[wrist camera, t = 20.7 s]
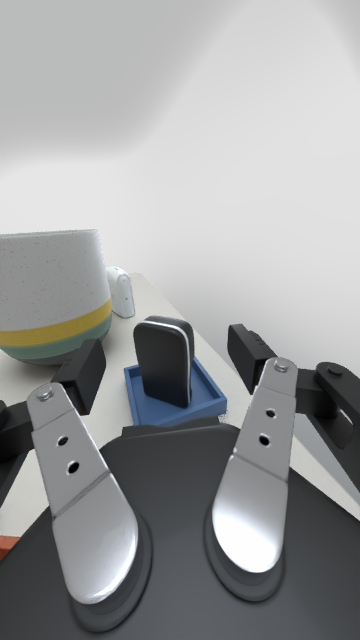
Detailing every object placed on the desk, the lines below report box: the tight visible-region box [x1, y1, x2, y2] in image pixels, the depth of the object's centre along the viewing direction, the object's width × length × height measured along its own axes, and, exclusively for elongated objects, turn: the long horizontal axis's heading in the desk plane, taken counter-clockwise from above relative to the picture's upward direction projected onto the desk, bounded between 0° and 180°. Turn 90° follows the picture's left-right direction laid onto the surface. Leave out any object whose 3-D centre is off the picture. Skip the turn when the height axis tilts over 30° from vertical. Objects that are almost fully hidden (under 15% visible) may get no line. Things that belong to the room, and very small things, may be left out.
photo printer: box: [106, 266, 135, 318], centre depth 53 cm, size 10×4×12 cm, turn 40°
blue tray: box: [124, 356, 227, 427], centre depth 28 cm, size 11×11×2 cm
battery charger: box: [133, 316, 194, 408], centre depth 25 cm, size 7×4×11 cm, turn 65°
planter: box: [0, 230, 112, 365], centre depth 34 cm, size 20×20×21 cm
